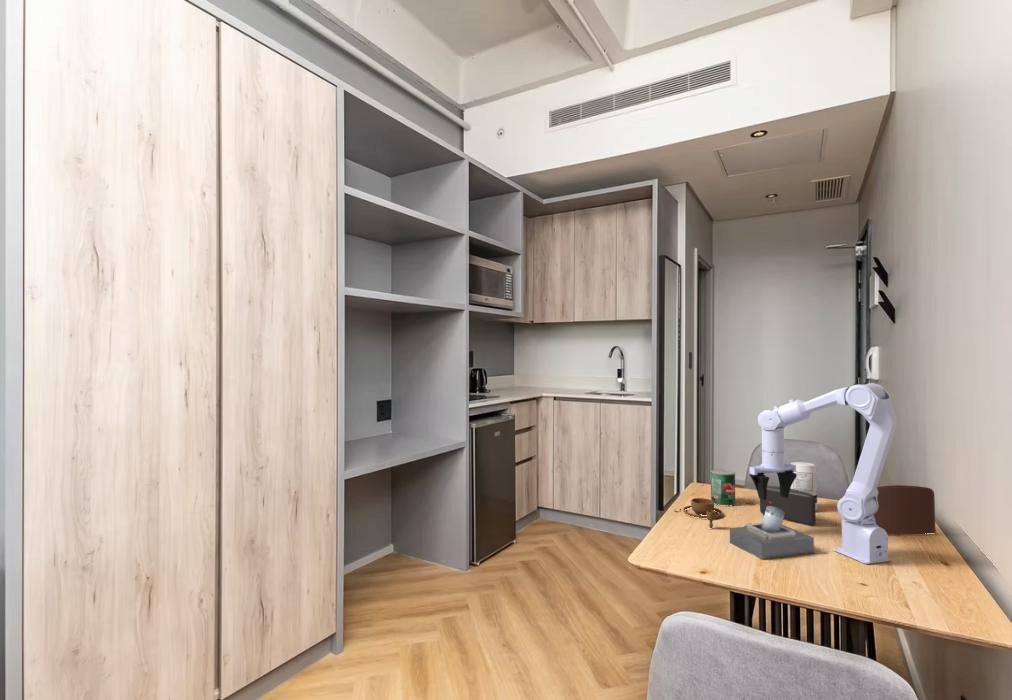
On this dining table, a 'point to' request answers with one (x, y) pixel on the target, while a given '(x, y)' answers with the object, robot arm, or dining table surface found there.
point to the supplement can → (806, 479)
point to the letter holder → (905, 509)
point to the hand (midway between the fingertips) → (773, 497)
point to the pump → (772, 519)
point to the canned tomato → (723, 487)
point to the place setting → (703, 509)
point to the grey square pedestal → (771, 541)
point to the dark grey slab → (791, 505)
